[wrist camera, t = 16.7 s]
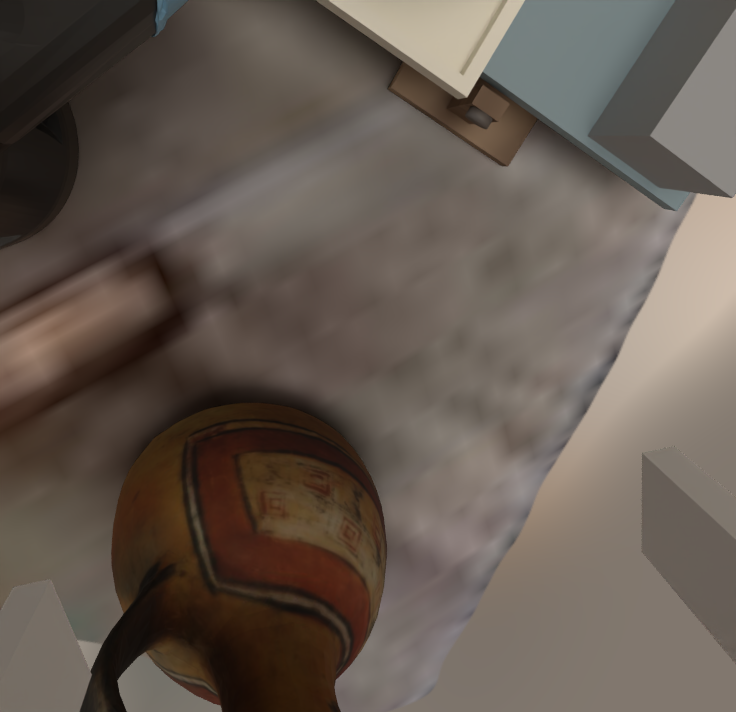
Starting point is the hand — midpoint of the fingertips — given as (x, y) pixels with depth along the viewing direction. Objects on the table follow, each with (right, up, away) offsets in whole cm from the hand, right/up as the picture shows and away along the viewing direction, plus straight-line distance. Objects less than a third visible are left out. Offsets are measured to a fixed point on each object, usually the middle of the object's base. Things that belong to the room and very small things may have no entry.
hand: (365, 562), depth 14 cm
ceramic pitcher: (-9, -7, +39) cm, 41 cm away
